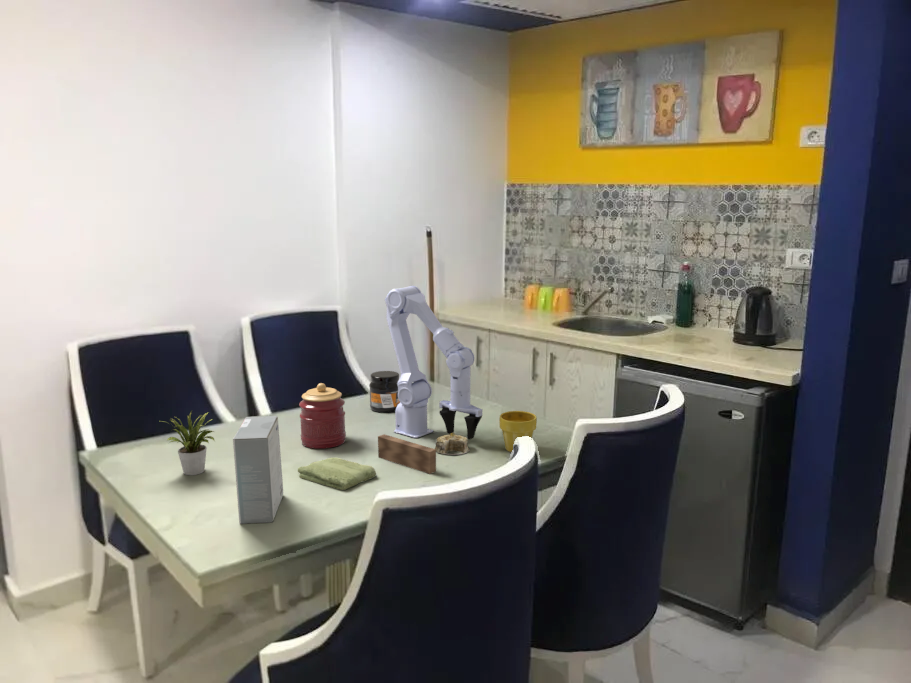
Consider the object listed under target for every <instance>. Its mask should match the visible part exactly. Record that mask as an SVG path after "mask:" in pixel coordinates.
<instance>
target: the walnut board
mask: <svg viewBox="0 0 911 683" xmlns="http://www.w3.org/2000/svg"><path fill="white" fill-rule="evenodd" d="M377 451H378V453H377V454H378V456H377V457H378V458H379V459H383V460H386V461H389V462H390V463H391V462H392V463H395V464H398V465H401V466H404V467H407V468H410V469H413V470H415V471H420V472H423V473H426V474H429V475H431V474H434V473H435V472H437V452H436V449H435V448H432V447H429V446H426V445H421V444H419V443H415V442H413V441H408V440H405V439H401V438H398V437H394V436H392V435H388V434H386V433H384V434H381V435H378V436H377Z"/></svg>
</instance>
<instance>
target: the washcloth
mask: <svg viewBox="0 0 911 683" xmlns="http://www.w3.org/2000/svg"><path fill="white" fill-rule="evenodd" d="M297 473H298V474H299V475H298V477H299V478H300V479H304V480H306V481H311V482H313V483H317V484H319V485H324V486H326V487H329V488H333V489H336V490H337V489H338V490H340V491H346V490H347V489H350V488H352V487H355V486H357V485H358V484H360V483H362V482H366V481H368V480H371V479H373V478H375V477H376V476H377V472H376V469H375V468H374V467H373V466H372V465H367V464H361V463H359V462H355V461H349V460H345V459H343V458H340V457H327V458H326V459H322V460H317V461H313V462H311V463H310V464H308V465H305V466H303V465H302V466H299V467H297Z"/></svg>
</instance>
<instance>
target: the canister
mask: <svg viewBox="0 0 911 683" xmlns="http://www.w3.org/2000/svg"><path fill="white" fill-rule="evenodd" d="M342 396H343V394H342V392H340V391H339V390H337V389H336V388H332V387H328V386H326V384H325V383H322V382H320V383H318V384H317V386H316V387H314V388H311V389H308V390H307V391H306V392H304V393H302V395H301V398H302V400H301V401H299V404H298V406H299V408H301V409H300V411H301V412H300V414H299V418H300V432H301V433H300V441H301V444H302V445H303V446H304V447H306V448H310V449H316V450H317V449H321V450H322V449H330V448H336V447H339V446H341V445H343V444H344V443H345V442H346V438H347V432H346V419H345V418H346V417H345V415H346V411H345V410H344V405H345V403H346V401H345V400H344V399H343V398H341V397H342Z"/></svg>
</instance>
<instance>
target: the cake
mask: <svg viewBox="0 0 911 683" xmlns="http://www.w3.org/2000/svg"><path fill="white" fill-rule="evenodd" d="M468 440H469V439H468V438H467V437H466V436H464V435H459V434H455V433H454V432H453V433H451V434H444V435H441V436H438V437H437V438H436V443H435V447H434V449H436V453H438V454H442V455H450V456H451V455H452V456H455V455H464V454H467V453H468V452H470V450H471V449H470V448H469V447H468ZM448 452H457V453H448ZM458 452H459V453H458Z"/></svg>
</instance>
